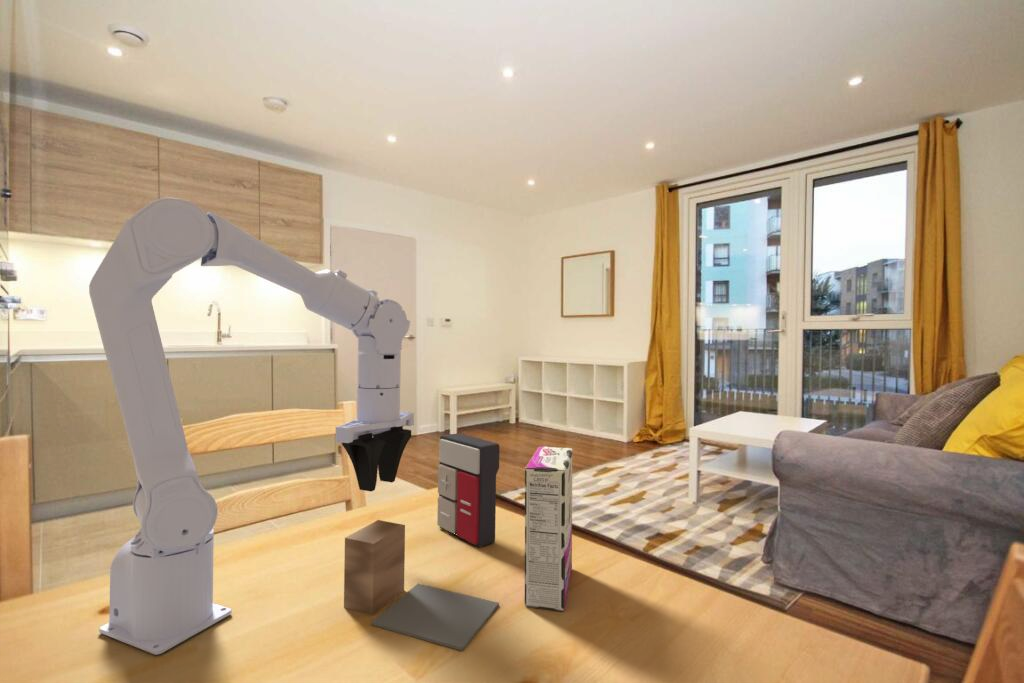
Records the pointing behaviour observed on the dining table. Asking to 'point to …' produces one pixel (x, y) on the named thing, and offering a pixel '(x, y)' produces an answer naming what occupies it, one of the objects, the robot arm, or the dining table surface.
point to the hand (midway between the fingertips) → (377, 485)
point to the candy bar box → (548, 528)
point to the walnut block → (374, 566)
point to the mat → (437, 616)
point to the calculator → (468, 487)
